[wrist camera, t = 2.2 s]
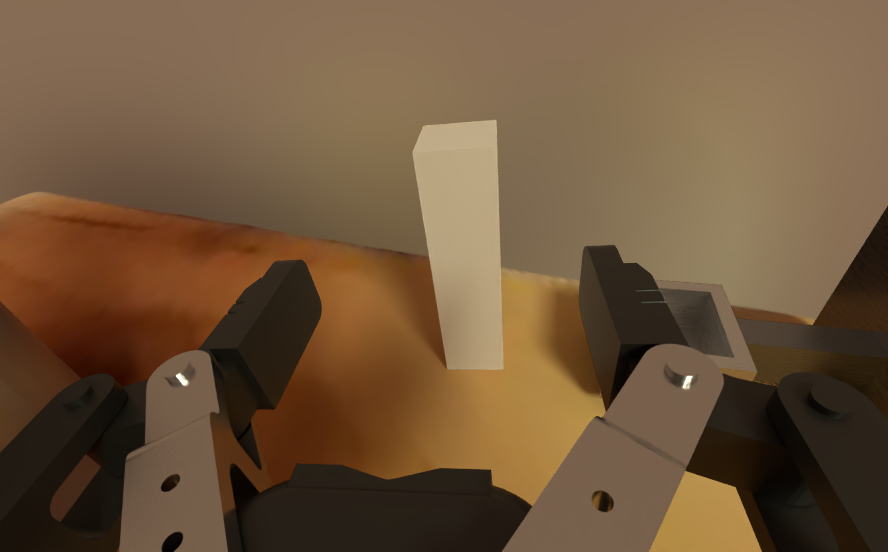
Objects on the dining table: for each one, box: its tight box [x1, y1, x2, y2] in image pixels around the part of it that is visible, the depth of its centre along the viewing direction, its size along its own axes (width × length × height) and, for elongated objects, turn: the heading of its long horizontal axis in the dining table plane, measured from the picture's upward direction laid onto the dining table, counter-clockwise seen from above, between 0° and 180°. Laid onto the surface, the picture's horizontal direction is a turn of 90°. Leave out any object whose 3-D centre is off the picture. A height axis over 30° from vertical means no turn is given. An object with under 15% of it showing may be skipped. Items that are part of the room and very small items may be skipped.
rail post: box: [413, 120, 503, 370], centre depth 25 cm, size 4×4×16 cm
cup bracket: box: [599, 206, 888, 420], centre depth 19 cm, size 15×10×22 cm, turn 75°
